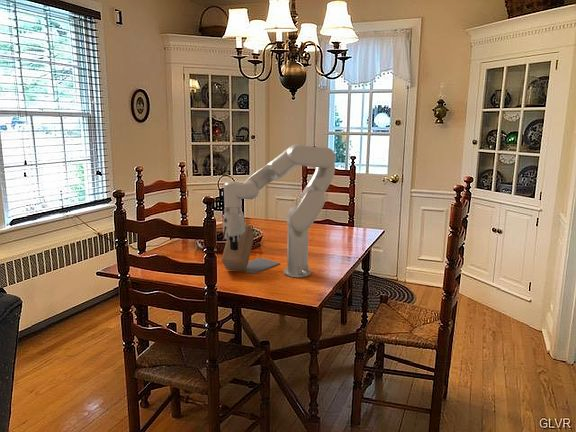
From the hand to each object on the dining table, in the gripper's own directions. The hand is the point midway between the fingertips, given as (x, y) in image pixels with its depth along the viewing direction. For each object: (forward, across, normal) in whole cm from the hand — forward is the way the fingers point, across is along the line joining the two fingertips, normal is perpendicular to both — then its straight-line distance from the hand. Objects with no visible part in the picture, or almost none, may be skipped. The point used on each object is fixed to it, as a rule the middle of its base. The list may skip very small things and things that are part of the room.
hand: (234, 249), depth 205 cm
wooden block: (+9, 0, +1) cm, 9 cm away
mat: (+12, +15, 0) cm, 20 cm away
